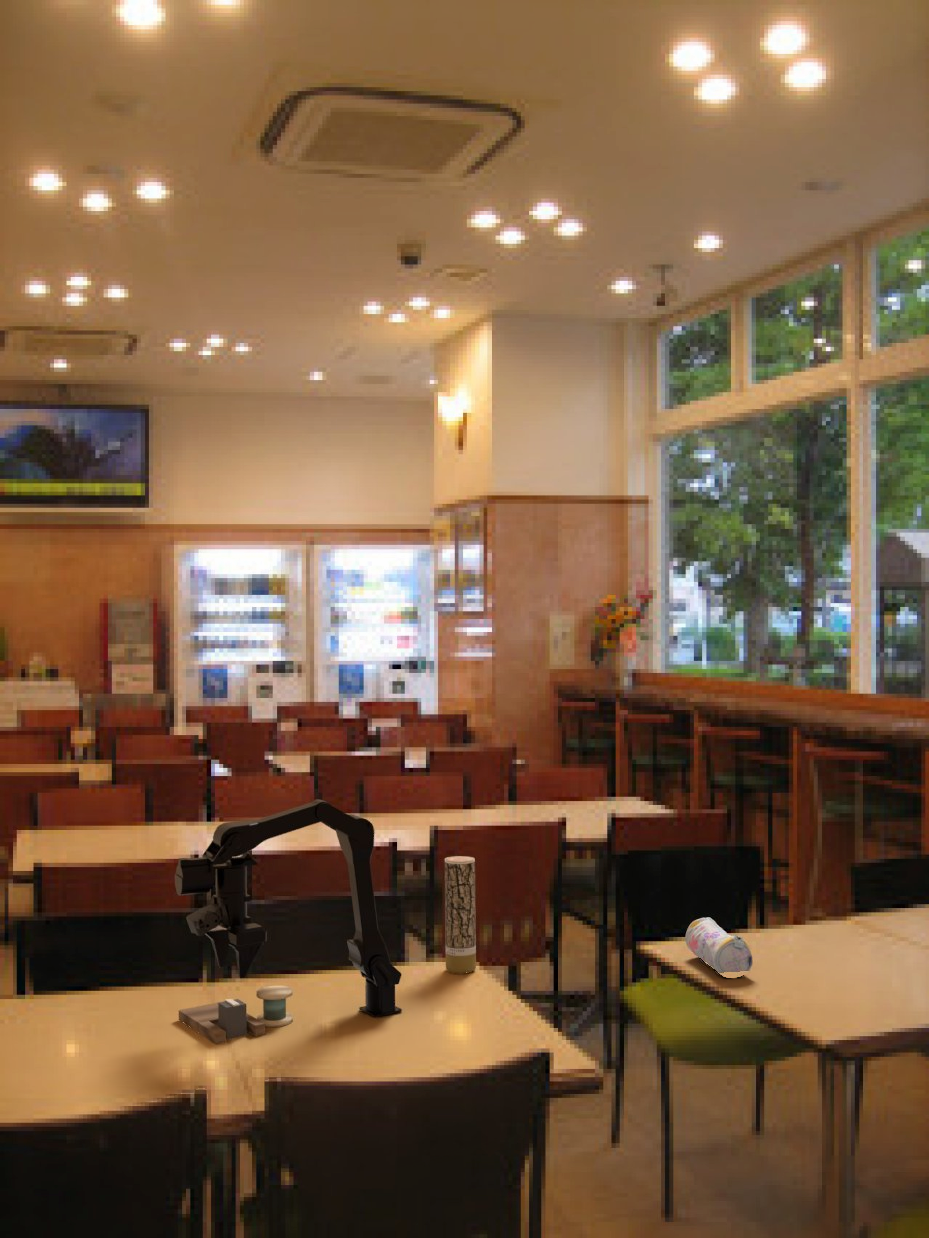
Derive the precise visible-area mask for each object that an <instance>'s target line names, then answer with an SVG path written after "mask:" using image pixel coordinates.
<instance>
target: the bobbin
mask: <svg viewBox="0 0 929 1238" xmlns="http://www.w3.org/2000/svg"><path fill="white" fill-rule="evenodd" d="M255 995H256V998H258V999H260V1000H262V1001H263V1002H262V1005H263V1007H262V1011H263V1013H261V1014H259V1015H257V1016H256V1019H258V1020H260V1021H261V1022H263V1023H265V1028H266V1027H267V1028H277V1027H279V1028H280V1027H283V1026H284V1027H285V1026H287V1025H290V1024H291V1023H293V1019H294V1017H293V1016H294V1015H293V1014H292V1013H289V1012H287V998H291V997H292V996H293V988H292V987H290V986H286V985H269V986H263V987H260V988H259V989H257V990H256V994H255Z"/></svg>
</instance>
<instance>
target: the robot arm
mask: <svg viewBox="0 0 929 1238" xmlns="http://www.w3.org/2000/svg"><path fill="white" fill-rule="evenodd" d="M318 823H321V824H323V825H325V826H326V827H328V828H330V829H332V830H333V831H335V834H336V837H337V840H338V843H339V847H340V849H341V851H342V853H343V855H344V858H345V860H346V862H347V869H348V870H347V871H348V877H349V885H350V887H349V888H350V892H351V901H352V910H353V918H354V926H355V933H354V935H353V939H347V940H346V944H347V947H348V948H347V949H348V951H349V952H348V954H349V955H348V960H349V961H351V962H352V965H353V967H354V968H355V969H357V970H359V973H360V975H361V977H363V978H364V979H365V987H364V990H365V995H364V996H365V1005H364V1006H359V1007H358V1008H359V1011H361V1012H363V1013H365V1014H367V1015H368V1016H371V1017H374V1018H378V1017H383V1016H384V1017H385V1016H388V1015H393V1014H397V1013H401V1012H403V1009H402V1008H400V1007H399V1006H396V985H399V984H400V982H401V978H402V972H401V971H399V970H398V968H396V967H395V966H394V965H392V963H391V958H390V955H389V951H388V949H387V946H386V945H387V944H386V942H385V941H384V939H383V936H382V933H381V932H380V929H379V924H378V917H377V916H378V915H377V909H376V908H377V905H376V899H375V891H374V881H373V873H372V866H371V858H372V854H373V851H374V848H375V827H374V825H373V823H372V822H371V821H370V820H368V818H367V819H366V818H364V817H362V816H358V815H355V814H350V813H349V814H348V813H346V812H344V811H343V810H340V809H338V808H337V807H335V806H333V805H332V804H331V803H329V802H328V801H325V800H323V799H319V798H318V799H313V800H312V801H311V802H308V803H305V804H303V805H302V804H301V805H300V806H299V805H298V806H296V807H292V808H289V809H286V810H283V811H280V812H278V813H277V812H276V813H274V814H270V815H268V816H264V817H261V818H258V819H246V820H236V821H228V822H223V823H221V824H219V825H218V826H217V827H216V828H215V831H214V832H213V836H212V840H211V842H210V844H209V845H208V846H207V847H206V849H205V851H204V852H203V854H201V856H202V857H192V858H191V857H189V858H188V857H180V858H178V859H177V862H178V863H177V866H176V868H175V873H174V887H175V890H176V891H175V892H176V894H177V895H178V897H179V896H189V895H199V894H207V893H210V892H211V890H213V889H214V887H215V886H216V888H215V889H216V890H215V893H216V894H213V895H212V896H211V898H210V904H209V905H206V906H203V907H201V908H199V909H198V910H196V911H194V912H192V913H190V914H188V915H187V916H186V917H185V918H186V922H187V925H188V927H189V930H190V932H191V934H194V935H196V936H197V937H201V936H204V935H206V937H208V938H209V939H210V941H211V944H212V948H213V951H214V954H215V955H214V956H215V957H216V961H217V965H218V967H219V968H225V967H226V964H227V961H228V957H229V953H230V949H231V948H232V949H233V950H234V952H235V958H236V965H237V973H238V977H239V978H240V979H243V978H246V977H247V974H248V972H249V971H250V968H251V966H252V964H253V962H254V959H255V957H256V955H257V953H258V952H259V950H260V948H261V946H264V942H267V941H268V930H267V929H266V928H265V927H264V926H262V925H261V924H258V923H256V922H254V923H252V917H251V916H248V906H247V905H248V903H247V902H251V901H252V899H251V897H252V896H251V895H250V894H248V892H247V891H248V887H247V885H248V883H247V882H248V881H247V879H248V878H247V877H248V876H247V870H248V869H247V867H251V866H252V867H253V866H254V867H255V866H257V865H258V861H257V860H255V859H254V858H253V857H252V856H251V854H250V853H249V852H250V851H252V850H253V849H256V848H257V847H258V846H259V845H261V844H262V843H263V842H266V841H267V840H270V839H273V838H276V837H280V836H282V835H284V834H285V835H286V834H287V833H292V832H295V831H297V830H300V829H303V828H307V827H309V826H312V825H315V824H318Z"/></svg>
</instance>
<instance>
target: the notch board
mask: <svg viewBox="0 0 929 1238" xmlns="http://www.w3.org/2000/svg"><path fill="white" fill-rule="evenodd" d="M224 1001H225V1000H224ZM224 1001H222V1002H224ZM219 1002H220V1001H218V1002H214V1003H209V1004H204V1005H198V1006H194V1007H193V1006H192V1007H188V1008H183V1009H179V1010H178V1021H179V1020H181V1021H180V1022H181V1023H182V1022H184V1023H185V1024H187V1025H189V1026H190V1027H191V1028H192V1029H191V1028H190V1027H189V1028H190V1029H191V1030H193V1031H195V1032H196V1031H197V1032H196V1033H198V1032H199V1033H200V1035H201V1036H202V1035H203V1036H202V1037H203V1038H205V1037H206V1039H207V1040H209V1041H210V1042H211V1043H213V1044H215V1045H221V1044H225V1043H227V1039H226V1031H224V1030H223V1029H221V1028H219V1023H218V1003H219ZM246 1020H247V1033H249V1034H251V1035H253V1036H255V1037H258V1036H263V1035H266V1027H265V1023H263V1022H261V1021H260V1020H258V1019H257V1017H254V1016H252V1015H251V1014H249V1013H248V1012H246ZM184 1023H183V1024H184ZM185 1024H184V1025H185ZM187 1025H186V1026H187ZM199 1033H198V1034H199Z"/></svg>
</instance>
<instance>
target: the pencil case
mask: <svg viewBox="0 0 929 1238" xmlns="http://www.w3.org/2000/svg"><path fill="white" fill-rule="evenodd" d="M686 929H687V930H686V933H685V935H684V936H685V945H686V946H687V948H688V950H689V951H690V950H691V951H690V952H691V953H692V952H693V953H692V954H694V955H695V956H696V957H697V956H698V957H699V958H701V959H702V960H703V961H705V962H707V963H708V964H709V965H710V966H712V967H713V968H714V969H715V970H716V971H717V972H719V973H724V972H740V971H749V972H750V970H751V969H752V967H753V954H752V952H751V949H750V947H749V945H748V943H747V942H746V940H745V939H743V937H741V936H739V935H738V934H737V933H734V934H733V935H731V934H729V933H727V931H725V930H724V928H722V927H720V926H719V925H718V924H717V922H716V921H715V920H714V919H712V918H711V917H701V918H698V919H695V920H693V921H692V922H691V923H690V924H689V926H688V928H686ZM698 957H697V958H698ZM699 958H698V959H699ZM701 959H700V960H701ZM702 960H701V961H702ZM703 961H702V962H703ZM716 971H715V972H716ZM717 972H716V973H717Z"/></svg>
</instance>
